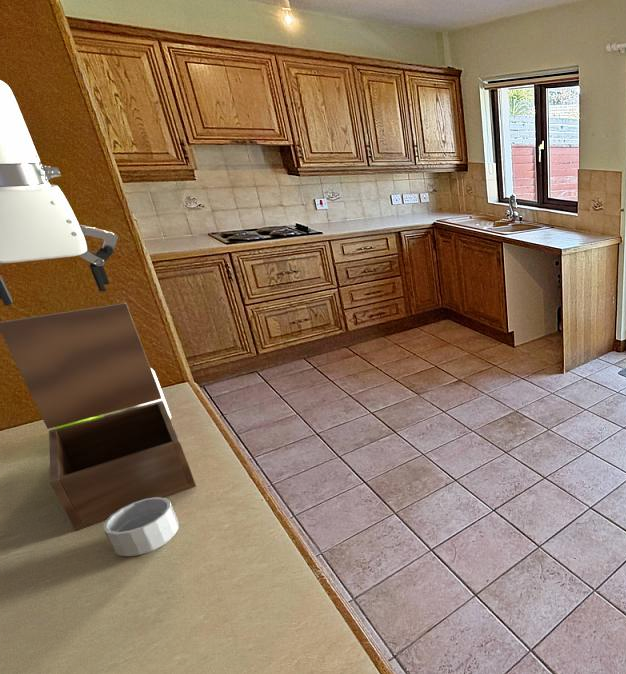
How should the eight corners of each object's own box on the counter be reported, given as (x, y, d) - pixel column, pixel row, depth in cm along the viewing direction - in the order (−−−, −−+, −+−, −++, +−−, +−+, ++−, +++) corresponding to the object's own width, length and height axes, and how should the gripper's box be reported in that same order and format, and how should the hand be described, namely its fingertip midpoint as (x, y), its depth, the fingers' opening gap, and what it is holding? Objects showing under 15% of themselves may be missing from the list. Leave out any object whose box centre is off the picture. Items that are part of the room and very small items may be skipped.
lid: (126, 303, 77) (123, 297, 80) (-4, 323, 67) (-1, 315, 71) (162, 398, 83) (158, 389, 86) (47, 429, 74) (48, 417, 77)
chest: (196, 486, 77) (179, 441, 73) (75, 531, 67) (50, 482, 64) (177, 441, 87) (162, 400, 83) (71, 475, 78) (48, 430, 74)
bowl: (103, 563, 63) (90, 538, 61) (133, 525, 69) (122, 501, 67) (164, 553, 65) (154, 528, 63) (189, 517, 71) (180, 494, 69)
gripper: (92, 172, 72) (131, 279, 79) (-98, 176, 60) (-33, 302, 67) (97, 177, 68) (138, 290, 75) (-107, 182, 56) (-36, 316, 63)
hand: (57, 296), depth 71 cm, fingers open, 9 cm apart
